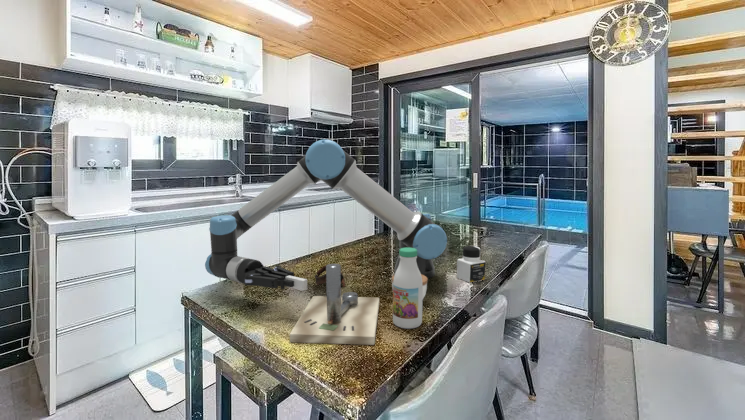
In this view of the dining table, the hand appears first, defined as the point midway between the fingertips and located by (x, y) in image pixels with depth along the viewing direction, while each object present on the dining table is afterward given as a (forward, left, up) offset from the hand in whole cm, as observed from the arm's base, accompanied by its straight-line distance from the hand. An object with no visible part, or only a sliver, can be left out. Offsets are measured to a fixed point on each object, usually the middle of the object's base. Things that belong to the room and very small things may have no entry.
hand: (305, 285), depth 94 cm
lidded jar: (-28, -14, -10) cm, 33 cm away
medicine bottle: (-51, -37, -10) cm, 64 cm away
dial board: (-9, 0, -10) cm, 13 cm away
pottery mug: (-2, -28, -10) cm, 30 cm away
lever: (-10, 0, -7) cm, 12 cm away
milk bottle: (-27, 0, -10) cm, 29 cm away
